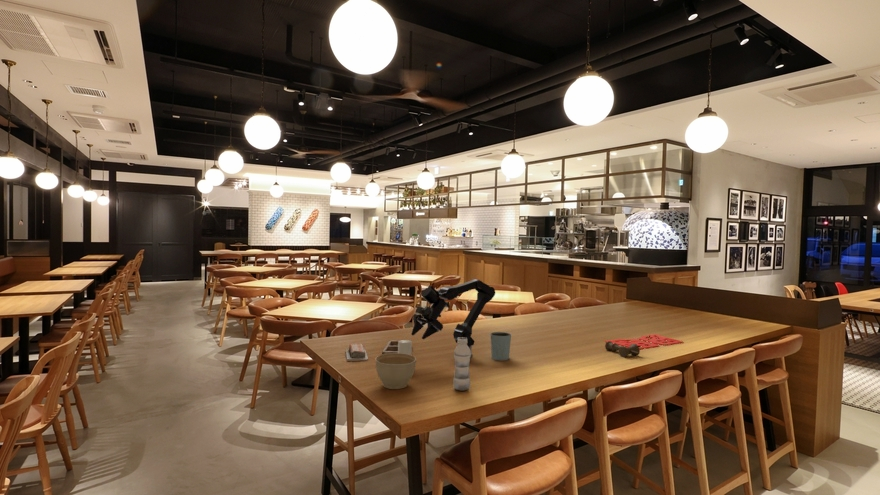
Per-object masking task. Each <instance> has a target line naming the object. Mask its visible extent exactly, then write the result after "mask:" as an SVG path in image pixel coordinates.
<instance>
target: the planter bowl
mask: <svg viewBox="0 0 880 495" xmlns="http://www.w3.org/2000/svg"><path fill="white" fill-rule="evenodd" d="M374 360H375V361H374V362H375V368H376V373H377V376H378V378H379V379H380V381H381V383H382V387H384V388H386V389H390V390H399V389H404V388H406V387H407V386H408V385H409V384H408V383H409V382H410V381H411V379H412V377H413V375H414V373H415V369H416V362H417V358H416V356H415V355H412V354H411V355H409V354H402V353H390V354H383V355H382V354H380V355H377V356H376V357H375V359H374Z"/></svg>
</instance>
